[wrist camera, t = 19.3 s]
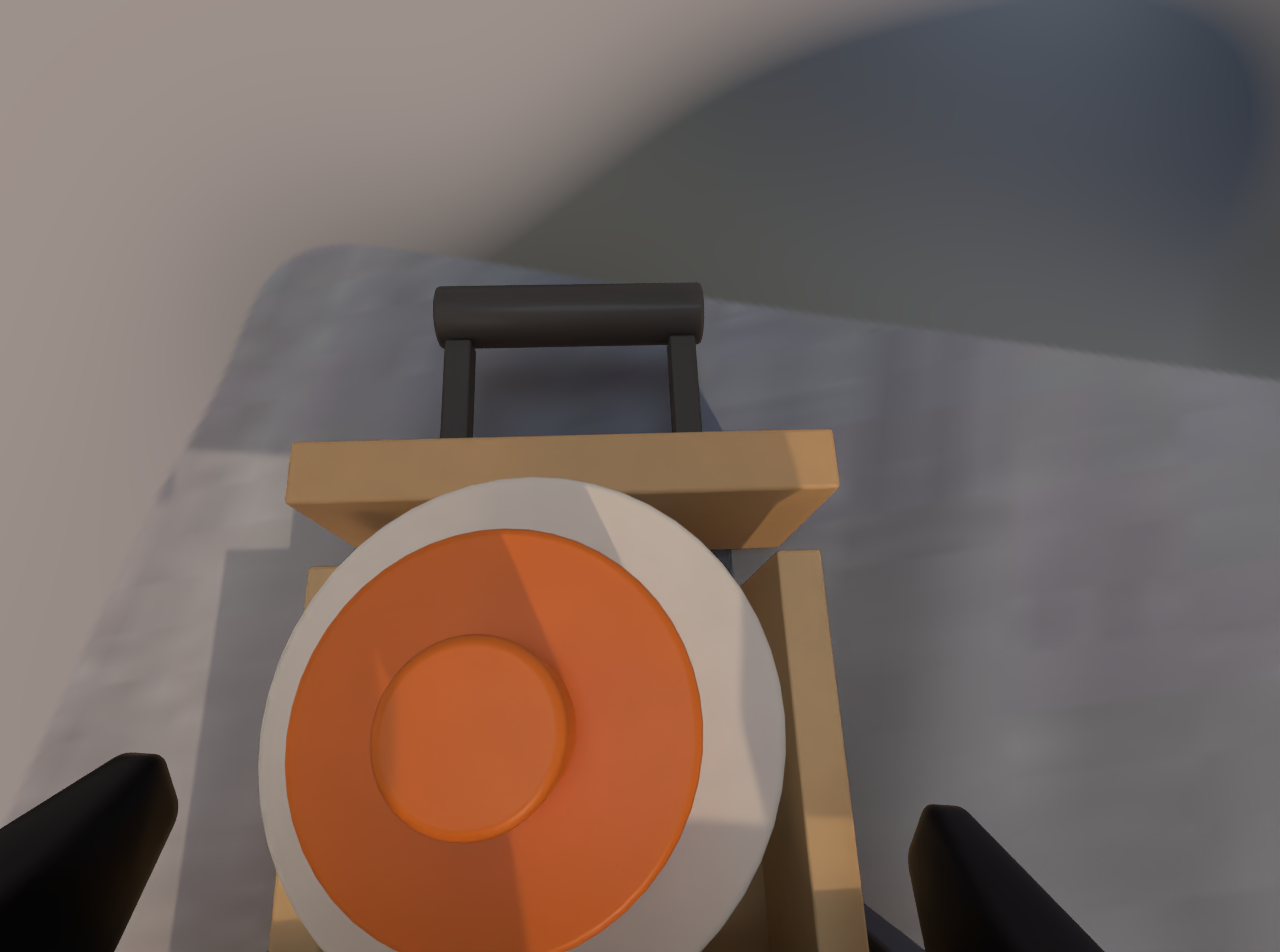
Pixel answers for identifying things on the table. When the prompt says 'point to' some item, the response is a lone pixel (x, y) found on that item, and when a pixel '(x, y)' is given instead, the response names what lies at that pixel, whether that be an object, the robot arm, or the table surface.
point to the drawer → (678, 487)
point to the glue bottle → (523, 732)
